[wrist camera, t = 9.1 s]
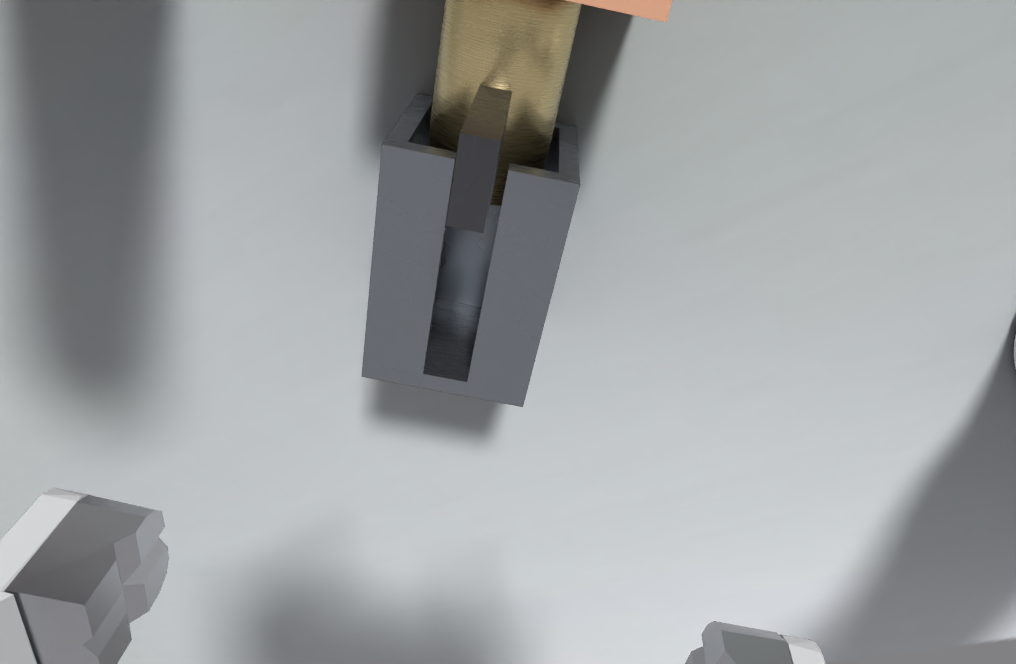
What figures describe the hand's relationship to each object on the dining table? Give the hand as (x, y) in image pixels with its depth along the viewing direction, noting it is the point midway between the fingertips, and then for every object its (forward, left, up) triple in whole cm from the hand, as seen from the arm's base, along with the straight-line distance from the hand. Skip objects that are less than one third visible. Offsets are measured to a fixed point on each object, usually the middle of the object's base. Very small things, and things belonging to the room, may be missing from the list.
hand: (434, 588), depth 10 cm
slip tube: (+1, -4, -24) cm, 25 cm away
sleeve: (+1, +5, -25) cm, 26 cm away
